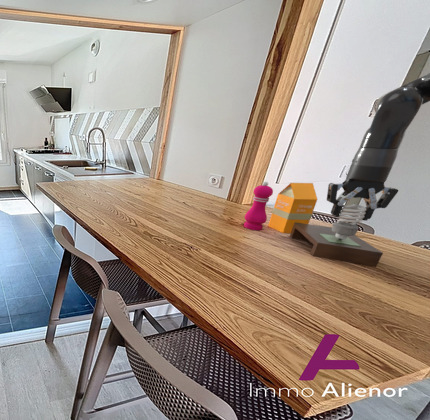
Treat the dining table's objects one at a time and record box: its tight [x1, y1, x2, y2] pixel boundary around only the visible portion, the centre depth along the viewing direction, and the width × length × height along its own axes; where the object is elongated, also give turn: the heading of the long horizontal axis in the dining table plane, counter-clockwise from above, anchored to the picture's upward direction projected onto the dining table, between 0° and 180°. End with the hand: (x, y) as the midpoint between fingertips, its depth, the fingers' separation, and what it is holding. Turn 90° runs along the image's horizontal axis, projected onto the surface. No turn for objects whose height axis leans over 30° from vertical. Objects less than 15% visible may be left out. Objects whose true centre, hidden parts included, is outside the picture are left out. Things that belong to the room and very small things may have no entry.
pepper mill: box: [243, 181, 274, 231], centre depth 100 cm, size 7×7×20 cm
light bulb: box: [331, 203, 367, 240], centre depth 77 cm, size 6×6×12 cm
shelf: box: [289, 222, 384, 268], centre depth 83 cm, size 14×20×6 cm
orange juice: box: [267, 182, 318, 234], centre depth 99 cm, size 8×9×20 cm
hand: (349, 217), depth 76 cm, fingers closed on light bulb, 5 cm apart
